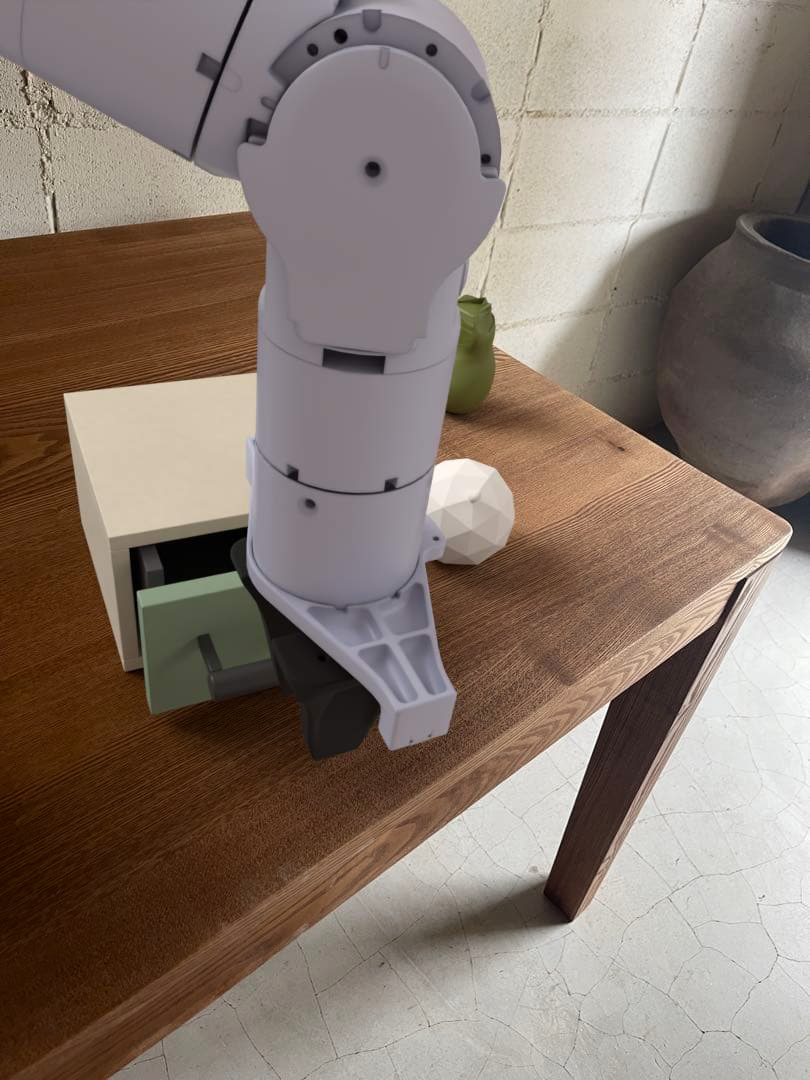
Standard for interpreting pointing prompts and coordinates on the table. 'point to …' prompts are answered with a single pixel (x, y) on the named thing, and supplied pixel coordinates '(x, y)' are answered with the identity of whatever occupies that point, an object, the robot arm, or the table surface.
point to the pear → (473, 356)
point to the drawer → (197, 623)
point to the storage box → (157, 475)
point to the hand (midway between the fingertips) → (318, 715)
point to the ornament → (470, 510)
